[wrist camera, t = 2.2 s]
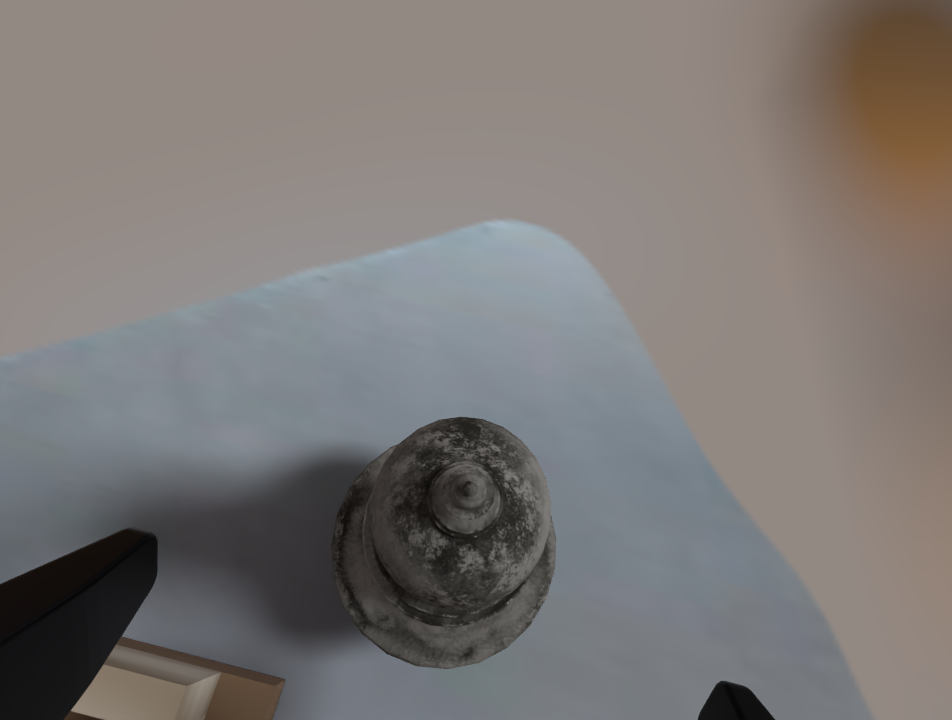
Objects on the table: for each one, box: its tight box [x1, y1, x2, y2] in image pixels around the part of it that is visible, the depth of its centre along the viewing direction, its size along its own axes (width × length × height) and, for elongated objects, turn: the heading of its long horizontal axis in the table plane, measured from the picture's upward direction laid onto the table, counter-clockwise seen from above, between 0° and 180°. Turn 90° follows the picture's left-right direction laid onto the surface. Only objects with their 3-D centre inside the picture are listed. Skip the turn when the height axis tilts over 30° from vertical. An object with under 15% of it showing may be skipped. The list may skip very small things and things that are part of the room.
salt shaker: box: [332, 417, 556, 669], centre depth 12 cm, size 6×6×12 cm
